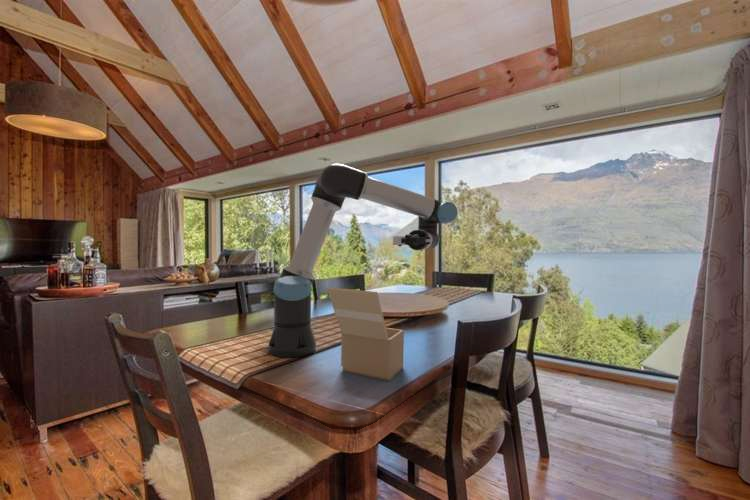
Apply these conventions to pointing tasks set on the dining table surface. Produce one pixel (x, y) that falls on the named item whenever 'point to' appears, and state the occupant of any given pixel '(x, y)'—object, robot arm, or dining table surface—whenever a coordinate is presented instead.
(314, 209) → the robot arm
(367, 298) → the flap
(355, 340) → the carton
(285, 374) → the dining table surface
